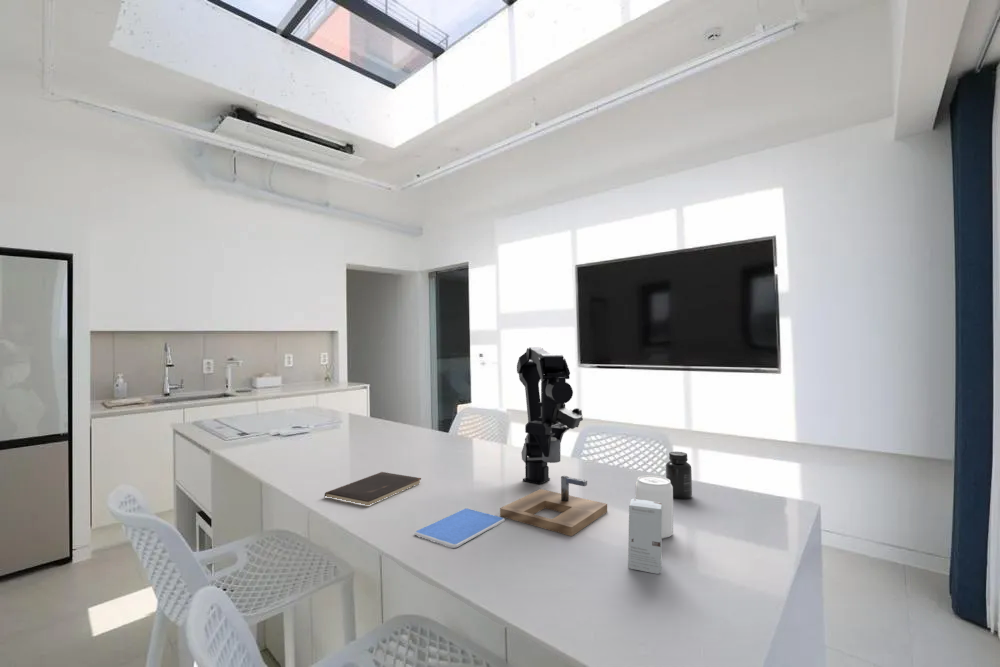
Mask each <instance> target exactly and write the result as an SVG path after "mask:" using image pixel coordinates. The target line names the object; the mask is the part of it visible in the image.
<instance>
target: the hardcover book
mask: <svg viewBox="0 0 1000 667" xmlns="http://www.w3.org/2000/svg"><path fill="white" fill-rule="evenodd" d="M421 480H422V477H415V476H411V475H410V476H409V475H402V474H398V473H391V472H390V473H389V472H386V471H380V472H378V473H375V474H372V475H369V476H367V477H364V478H362V479H358V480H355V481H353V482H350V483H348V484H345V485H343V486H340V487H337V488H334V489H331V490H329V491H326V492H325V493H324V497H325V496H327V497H332V498H337V499H342V500H346V501H351V502H355V503H361V504H365V505H370V504H372V503H375V502H377V501H379V500H382V499H384V498H386V497H389V496H391V495H393V494H395V493H398V492H400V491H402V490H405V489H407V488H409V487H412V486H414V485H416V486H418V485H420V484H421V482H420V481H421ZM419 483H420V484H419ZM417 484H418V485H417ZM414 487H415V486H414ZM412 488H413V487H412ZM409 489H410V488H409ZM407 490H408V489H407ZM405 491H406V490H405ZM400 493H401V492H400ZM398 494H399V493H398ZM389 498H390V497H389Z"/></svg>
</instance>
